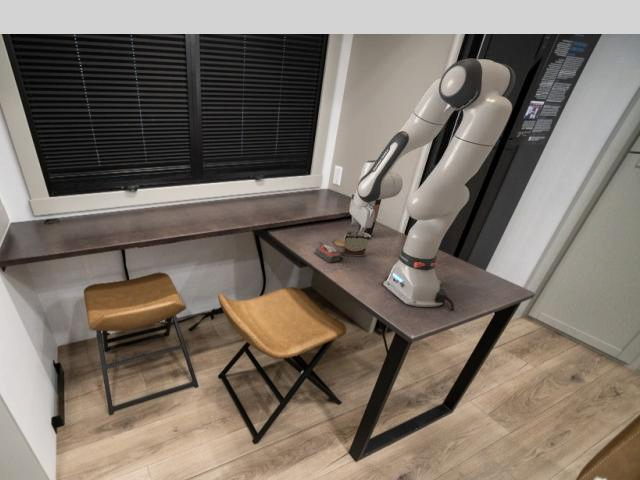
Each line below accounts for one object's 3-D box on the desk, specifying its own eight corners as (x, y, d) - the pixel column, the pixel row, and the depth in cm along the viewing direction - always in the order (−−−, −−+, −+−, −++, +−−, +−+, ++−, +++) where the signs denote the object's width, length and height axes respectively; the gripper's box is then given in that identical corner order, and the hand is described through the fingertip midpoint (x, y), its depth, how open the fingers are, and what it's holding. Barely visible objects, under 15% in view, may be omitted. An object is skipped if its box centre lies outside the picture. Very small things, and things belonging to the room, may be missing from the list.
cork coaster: (354, 247, 154) (355, 246, 153) (337, 247, 153) (337, 246, 153) (349, 240, 161) (349, 239, 161) (331, 239, 161) (332, 239, 161)
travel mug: (366, 239, 162) (376, 200, 151) (353, 234, 168) (362, 197, 156) (374, 236, 166) (384, 198, 155) (362, 231, 171) (371, 194, 160)
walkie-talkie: (346, 261, 141) (320, 244, 156) (348, 252, 138) (322, 236, 153) (330, 264, 138) (306, 246, 153) (332, 255, 135) (307, 238, 150)
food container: (363, 250, 150) (369, 231, 145) (366, 256, 145) (372, 236, 140) (338, 249, 151) (342, 229, 146) (340, 254, 146) (344, 234, 141)
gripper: (381, 207, 126) (372, 239, 134) (363, 193, 143) (356, 222, 151) (366, 207, 126) (357, 239, 134) (350, 193, 142) (343, 221, 150)
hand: (356, 230), depth 142 cm, fingers open, 8 cm apart
